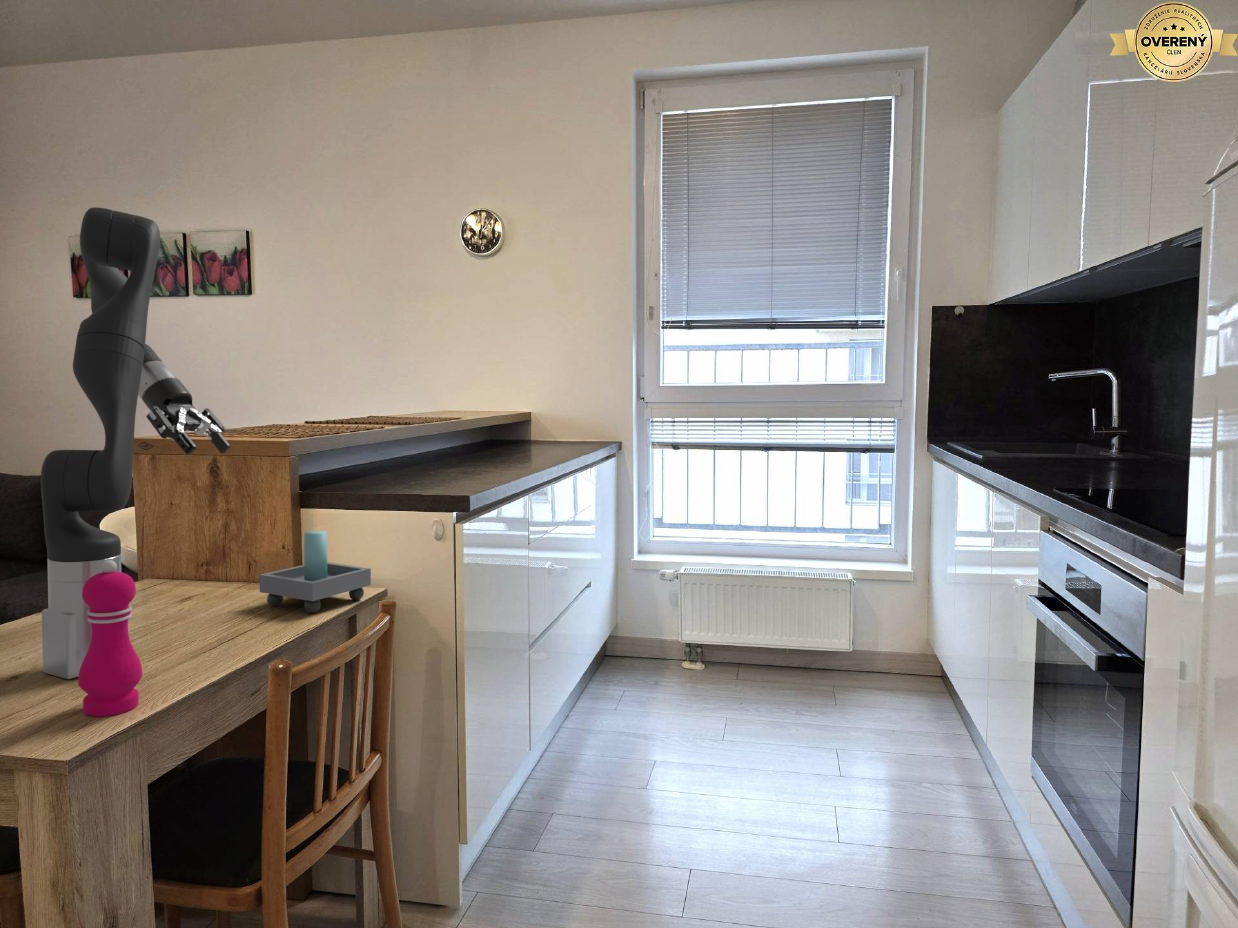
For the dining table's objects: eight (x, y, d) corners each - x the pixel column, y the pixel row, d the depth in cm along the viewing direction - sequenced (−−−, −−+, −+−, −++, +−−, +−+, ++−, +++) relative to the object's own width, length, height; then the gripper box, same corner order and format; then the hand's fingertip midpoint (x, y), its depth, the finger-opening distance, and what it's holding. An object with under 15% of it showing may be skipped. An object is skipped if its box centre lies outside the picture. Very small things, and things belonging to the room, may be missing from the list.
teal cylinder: (316, 584, 160) (316, 535, 159) (299, 582, 161) (299, 533, 161) (332, 580, 164) (332, 532, 163) (315, 578, 165) (315, 530, 165)
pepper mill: (67, 711, 105) (63, 561, 103) (122, 694, 111) (120, 553, 110) (98, 722, 101) (96, 568, 100) (154, 704, 108) (152, 559, 106)
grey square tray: (312, 616, 153) (312, 583, 152) (259, 606, 158) (259, 574, 158) (370, 599, 167) (370, 568, 167) (320, 590, 173) (320, 561, 172)
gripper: (140, 373, 147) (192, 438, 144) (200, 378, 160) (248, 437, 158) (118, 402, 148) (168, 466, 146) (178, 404, 162) (225, 462, 160)
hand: (209, 450), depth 152 cm, fingers open, 8 cm apart
